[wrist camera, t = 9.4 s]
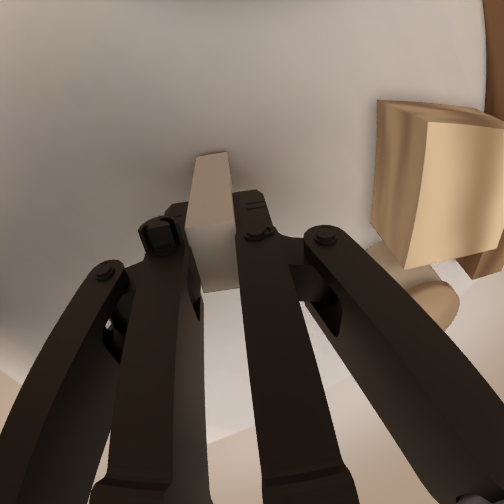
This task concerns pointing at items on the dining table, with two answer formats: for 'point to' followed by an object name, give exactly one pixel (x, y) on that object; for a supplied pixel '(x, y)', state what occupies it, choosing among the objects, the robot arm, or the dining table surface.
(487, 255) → the board
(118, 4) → the dining table surface
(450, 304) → the sugar pot
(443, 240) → the block
